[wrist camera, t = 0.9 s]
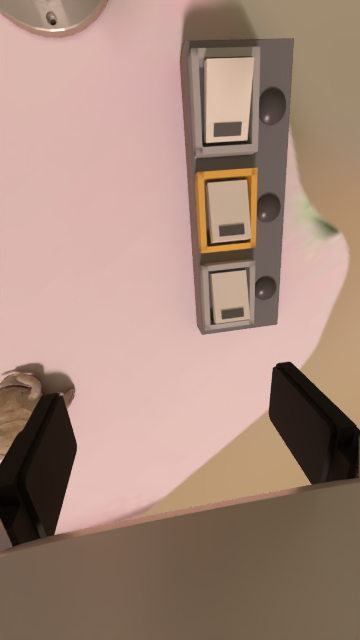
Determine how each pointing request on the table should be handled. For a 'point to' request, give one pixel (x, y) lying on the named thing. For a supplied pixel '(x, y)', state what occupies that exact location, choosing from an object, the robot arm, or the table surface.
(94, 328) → the table surface
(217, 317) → the rocker
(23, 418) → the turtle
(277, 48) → the rocker switch panel
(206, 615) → the robot arm
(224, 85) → the rocker
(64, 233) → the table surface
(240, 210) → the rocker middle
